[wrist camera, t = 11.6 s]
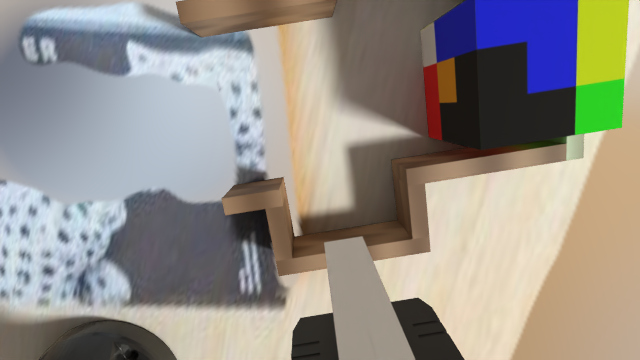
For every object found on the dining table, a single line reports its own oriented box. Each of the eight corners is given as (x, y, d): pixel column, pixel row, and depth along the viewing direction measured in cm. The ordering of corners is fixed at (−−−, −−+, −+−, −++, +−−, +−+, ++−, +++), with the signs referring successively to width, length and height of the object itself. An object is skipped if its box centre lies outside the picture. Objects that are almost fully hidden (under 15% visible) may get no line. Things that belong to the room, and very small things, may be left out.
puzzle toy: (420, 30, 30) (474, -6, 20) (525, 13, 30) (630, -31, 20) (428, 137, 32) (480, 150, 23) (526, 121, 32) (621, 127, 23)
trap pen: (250, 257, 34) (240, 282, 29) (179, -63, 28) (152, -99, 23) (542, 210, 34) (581, 227, 30) (542, -119, 28) (593, -168, 23)
